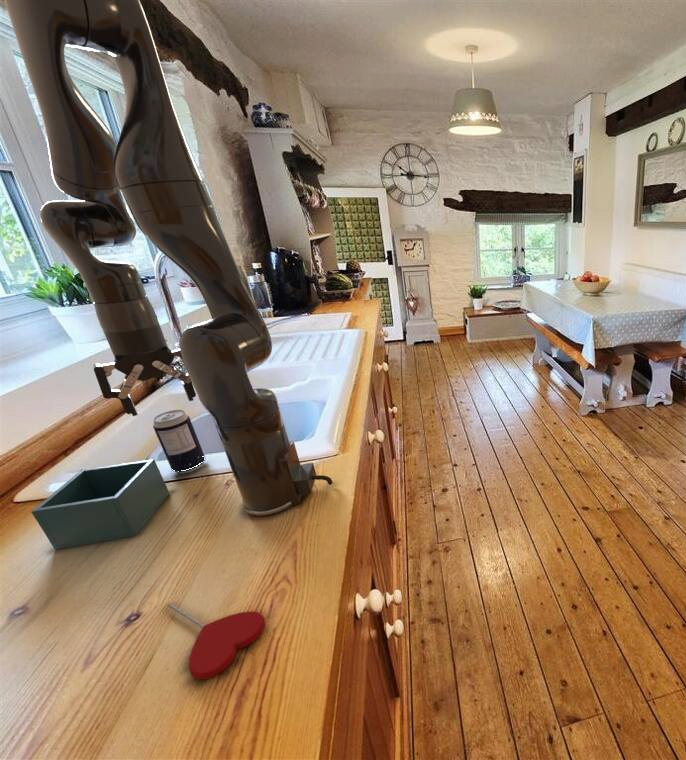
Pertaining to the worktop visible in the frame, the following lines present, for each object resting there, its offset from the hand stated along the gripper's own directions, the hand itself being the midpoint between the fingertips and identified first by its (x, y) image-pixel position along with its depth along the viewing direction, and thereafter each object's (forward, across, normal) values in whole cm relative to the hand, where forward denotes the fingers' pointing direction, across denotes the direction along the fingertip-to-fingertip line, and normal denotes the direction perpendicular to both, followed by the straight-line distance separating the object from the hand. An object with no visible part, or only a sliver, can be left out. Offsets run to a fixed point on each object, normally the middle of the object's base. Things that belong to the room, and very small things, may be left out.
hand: (164, 406), depth 78 cm
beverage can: (+14, 0, 0) cm, 14 cm away
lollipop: (+14, -5, -45) cm, 47 cm away
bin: (+14, -12, -10) cm, 20 cm away
